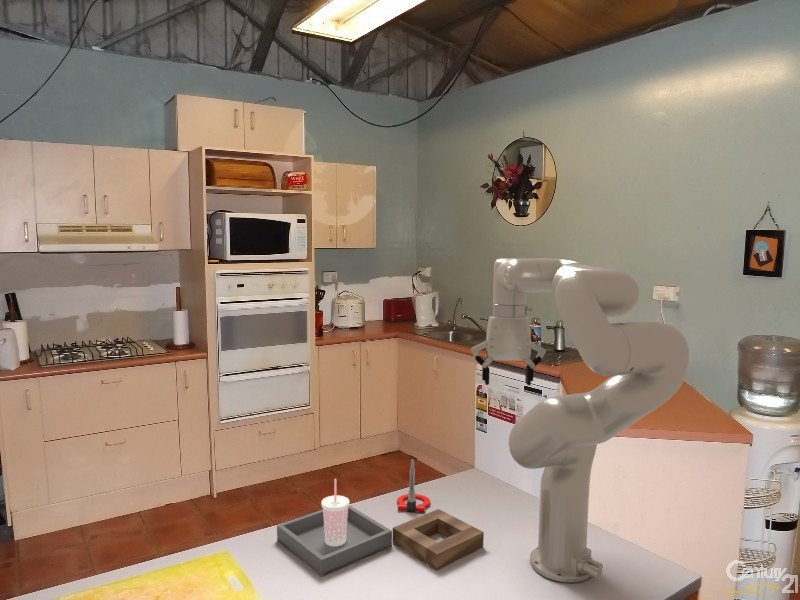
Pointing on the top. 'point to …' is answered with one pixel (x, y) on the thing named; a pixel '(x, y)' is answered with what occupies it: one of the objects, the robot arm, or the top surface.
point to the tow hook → (412, 497)
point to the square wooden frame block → (444, 552)
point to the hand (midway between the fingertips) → (507, 383)
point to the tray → (323, 559)
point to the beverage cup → (335, 518)
